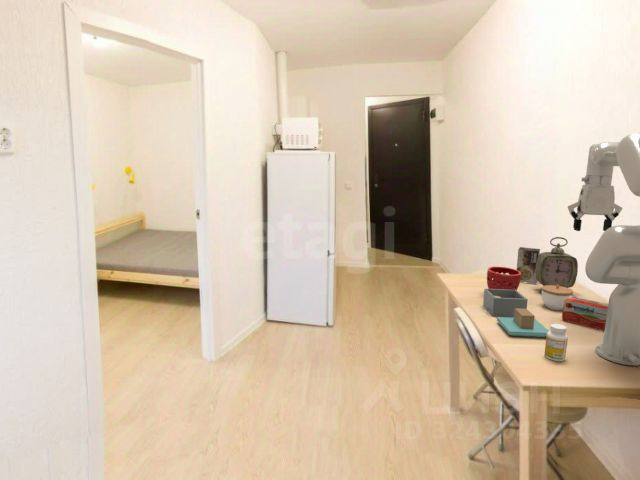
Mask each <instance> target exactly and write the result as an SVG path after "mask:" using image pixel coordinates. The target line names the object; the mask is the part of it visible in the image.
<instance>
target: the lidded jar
mask: <svg viewBox="0 0 640 480" xmlns="http://www.w3.org/2000/svg"><path fill="white" fill-rule="evenodd" d="M541 290H542V293H541V300H542V302H543V304H544V305H545V306H546V308H547V309H549V310H553V311H563V306H564V301H565V300H566V299H567V298H569V297H570V296H573V293H574V291H573V290H572V289H571V288H566V287H562V286H559V285H556V286H555V285H545V286H543V285H542V287H541Z"/></svg>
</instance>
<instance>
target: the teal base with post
mask: <svg viewBox="0 0 640 480" xmlns="http://www.w3.org/2000/svg"><path fill="white" fill-rule="evenodd" d="M535 317H536V316H535V315H534V314H533V313H532V312H531V311H530V310H529V309H528V308H527V309H518V308H514V317H500V316H496V321H497V323H498V324H500V326H501V327H502V328H503V329H504V330H505V331H506V332H507V333H508V335H509V336H512V337H530V336H531V338H532V336H533V338H534V337H535V338H543V337H547V333H548V332H549V331H550V330H548V328H546V327H545V326H544V325H543V324H542V323H541V322H540V321H538V320H537V319H536V318H535Z"/></svg>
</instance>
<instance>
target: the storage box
mask: <svg viewBox="0 0 640 480" xmlns="http://www.w3.org/2000/svg"><path fill="white" fill-rule="evenodd" d="M528 302H529V301H528V298H527V297H525V296H524V295H523V294H522V293H520V292H519V291H518V289H517V290H508V289H489V288H484V292H483V301H482V304H483V305H482V306H483V307H484V309H485V310H487V312H488V313H489V315H491V317H509V318H513V317H514V308H518V309H527V310H528Z"/></svg>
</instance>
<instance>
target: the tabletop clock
mask: <svg viewBox="0 0 640 480" xmlns="http://www.w3.org/2000/svg"><path fill="white" fill-rule="evenodd" d="M556 239H557V240H558V239H559V240H560V239H561V240H564V241H565V242H566V243H565V244H560V243H556V244H554V243H553V240H556ZM549 243H550V245H551V246H553V247H552V248H551V251H544V252H540V254H539V256H538V258H537V263H536V273H535V274H536V279H537V283H538V282H539V284H541V285H542V287H543V286H545V285H555V286H556V285H559V286H562V287H566V288H569V289H571V288H572V287H574V286H575V283H576V281H577V277H578V268H579V264H578V259H577V258H576V257H574V256H572V255H570V254H568V253H565V251H564V248H562V247H565V246H567V245H568V244H569V243H568V239H566V238H565V237H561V236H560V237H559V236H555V237H552V238H551V239H550V241H549ZM539 293H540V294H542V289H540V290H539Z"/></svg>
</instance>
